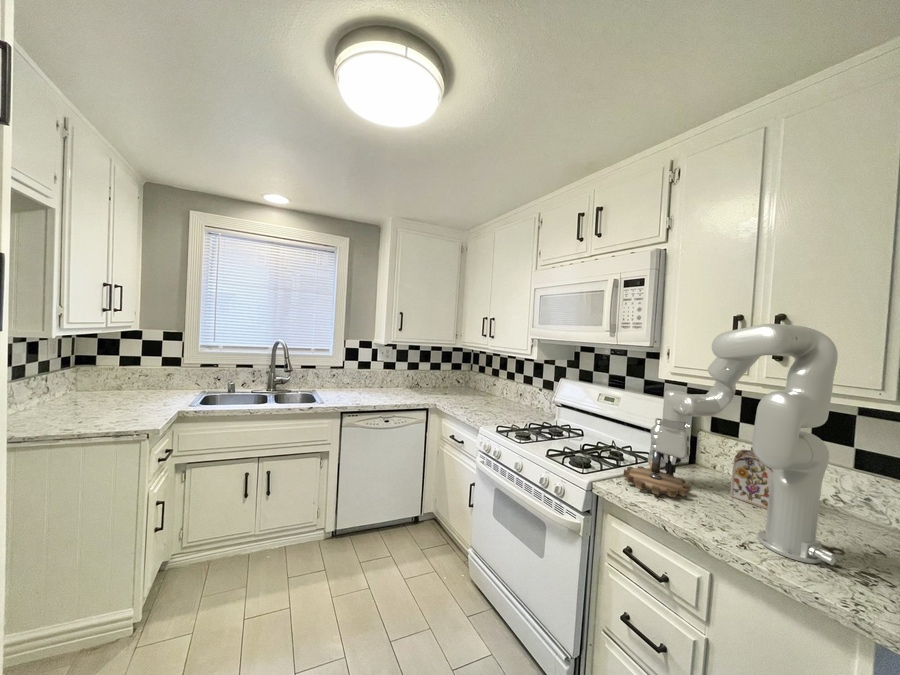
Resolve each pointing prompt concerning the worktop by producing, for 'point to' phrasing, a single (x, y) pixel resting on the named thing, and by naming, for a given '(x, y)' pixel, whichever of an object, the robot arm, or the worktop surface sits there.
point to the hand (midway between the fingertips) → (669, 473)
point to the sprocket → (656, 479)
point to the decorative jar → (750, 479)
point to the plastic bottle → (653, 441)
